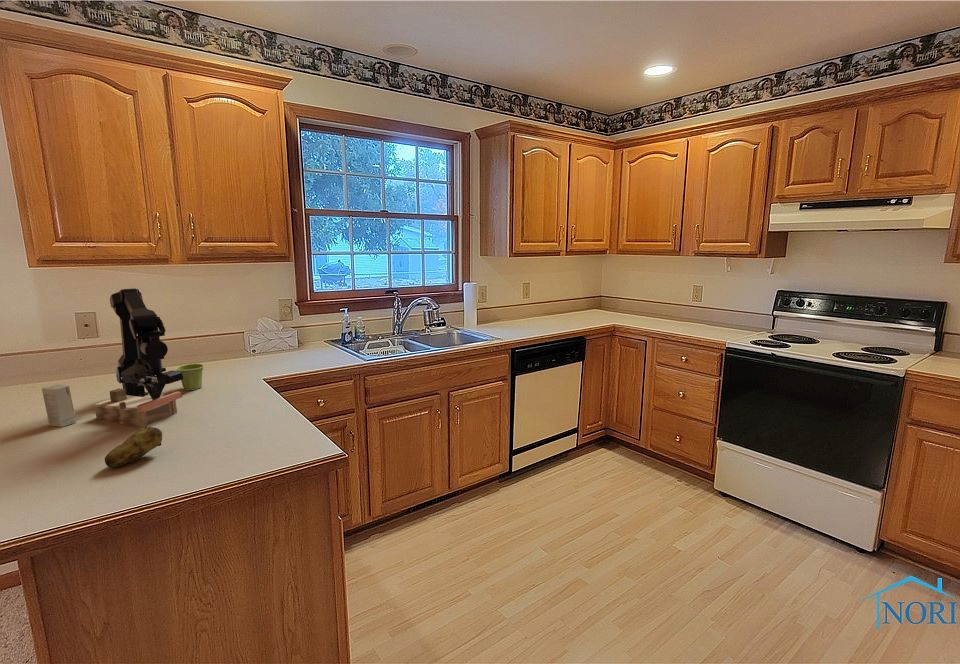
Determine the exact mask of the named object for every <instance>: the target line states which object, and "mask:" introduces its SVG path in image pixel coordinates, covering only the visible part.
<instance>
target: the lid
mask: <svg viewBox="0 0 960 664" xmlns="http://www.w3.org/2000/svg"><path fill="white" fill-rule="evenodd" d="M109 397H110V399H107V400H103V401H101V402H97V403H96V404H95V405H96V406H95V407H102V408H110V409H118V410H119V409H120V405H119V403H121V402H125V403H126V408H129V409H137V410H138V408H137V405H140V404H143V403H146V402H148V401H151V400H152V398H151V397H146V396H145V397H144V396H140V397H137V396H128V395H126V389H123V388H120V387H119V388H116V389H111V390H109ZM169 403H170V402H168V403H165V404H163V405H166V404H169ZM163 405H160V406H157V407H155V408H158V407H161V406H163ZM155 408H152V409H155ZM152 409H149V410H146V411H144V412H147V411H150V410H152Z"/></svg>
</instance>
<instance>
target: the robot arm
mask: <svg viewBox="0 0 960 664" xmlns="http://www.w3.org/2000/svg"><path fill="white" fill-rule="evenodd" d="M109 304H110V307H111V309H112V310H113V311H114V313H115V314H116V316H117V317H118V318H119V324H120V334H121V335H120V336H121V348H122V354H121V356H120V358H119V359H118V360H117V363H118V365H117V366H116V373H115V374H116V375H115V377H116V381H117V382H118V383H119V384H122V386H121V387H122V389H126V395H128V396H137V397H144V396H146V395H149V396H150V398H152V400H154V399H157V398H160V397H162V396H161V395H162V393H163V390H164V388H165V387H166V385H170V384H173V383H176V382H181V380H183V373H182V372H180V371H177V370H172V369H171V370H168V371H167V369H166V367H163V364H162V360H164V359H165V356H166V355H167V353H168V351H169V349H168V346H167V344H166V342H164V341H162V340H161V339H160V337H164V336H166V334H165V333H166V327H165V325H164V323H163V320H162V319H161V316H158V315H157V314H156V312H155V311H154V310H152V309H149V308H148V307H147V306H146V304H145V301H144V299H143V296H142V292H141V291H140V289H138V288H136V287H135V288H134V287H133V288H122V289H120V290H118V291H117V292H115V293H112V294H111V295H110V297H109Z"/></svg>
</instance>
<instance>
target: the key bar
mask: <svg viewBox="0 0 960 664" xmlns="http://www.w3.org/2000/svg"><path fill="white" fill-rule="evenodd" d="M181 398H182V392H181V391H175V392H172V393H169V394H167V395H163V396H160V398H157V399H154V400H151V401H148V402H146V403H143V404H140V405H137V408H138V412H144V411H146V410H149V409H152V408H155V407H157V406H160V405H163V404H165V403H168V402H171V401H174V400H179V399H181Z"/></svg>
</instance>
